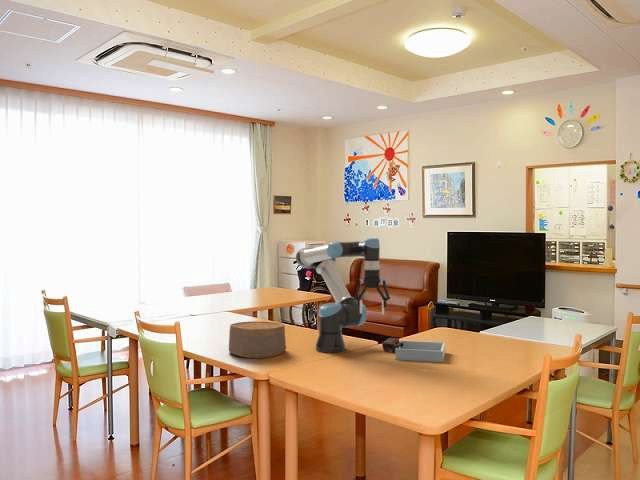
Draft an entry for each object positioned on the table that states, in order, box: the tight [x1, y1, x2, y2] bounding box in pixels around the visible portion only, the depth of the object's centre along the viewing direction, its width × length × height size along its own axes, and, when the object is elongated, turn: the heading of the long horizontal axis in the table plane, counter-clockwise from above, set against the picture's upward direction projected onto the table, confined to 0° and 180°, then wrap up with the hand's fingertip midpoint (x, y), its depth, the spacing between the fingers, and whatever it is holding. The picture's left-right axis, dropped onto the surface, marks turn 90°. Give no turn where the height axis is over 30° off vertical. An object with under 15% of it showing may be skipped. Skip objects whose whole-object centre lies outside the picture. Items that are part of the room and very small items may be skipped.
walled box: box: [394, 339, 446, 363], centre depth 264 cm, size 22×20×5 cm
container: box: [228, 321, 287, 359], centre depth 272 cm, size 28×28×15 cm
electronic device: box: [381, 337, 403, 353], centre depth 275 cm, size 4×10×8 cm
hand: (372, 313), depth 270 cm, fingers open, 10 cm apart
